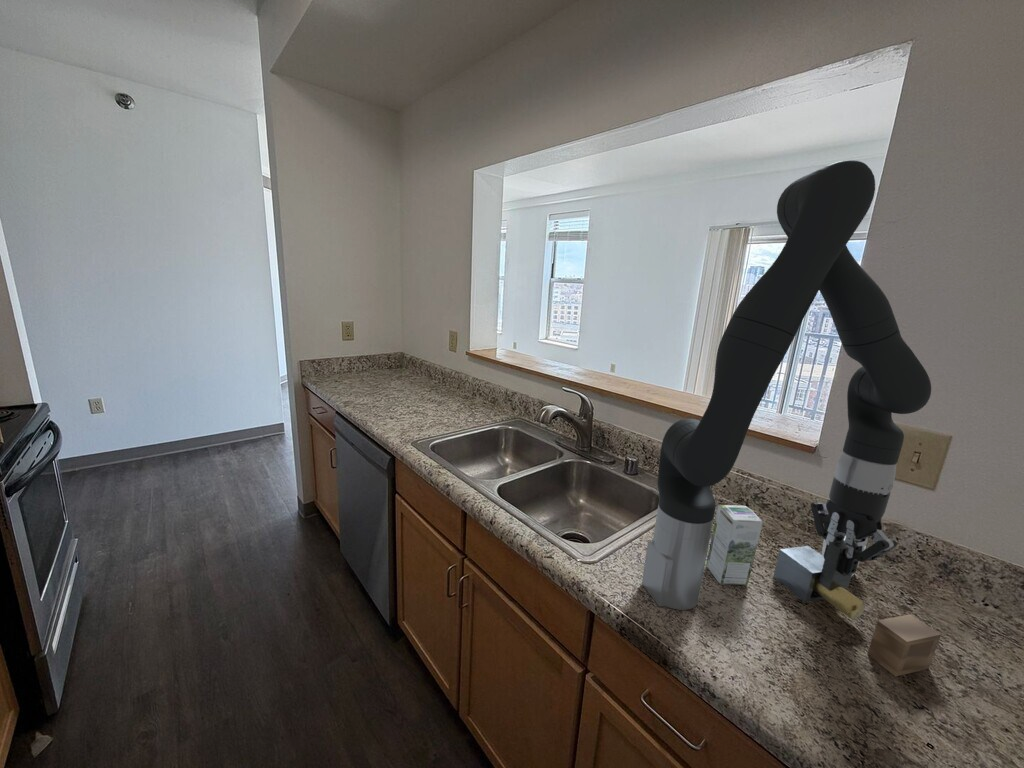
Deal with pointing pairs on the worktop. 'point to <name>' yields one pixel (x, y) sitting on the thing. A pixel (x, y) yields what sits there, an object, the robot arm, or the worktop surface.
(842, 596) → the slide bolt
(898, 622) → the socket block
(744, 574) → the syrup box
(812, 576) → the block
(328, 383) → the worktop surface
